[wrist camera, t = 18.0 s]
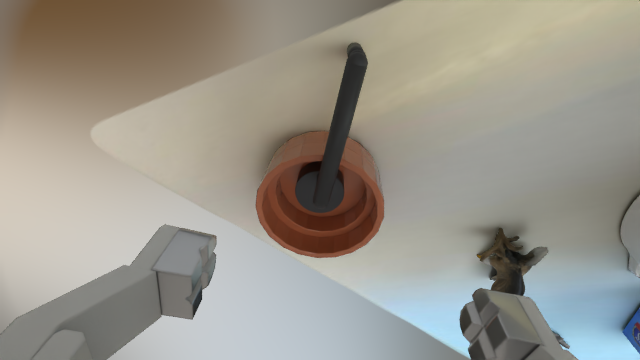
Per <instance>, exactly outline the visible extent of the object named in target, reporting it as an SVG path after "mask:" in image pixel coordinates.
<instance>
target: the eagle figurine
mask: <svg viewBox="0 0 640 360" xmlns="http://www.w3.org/2000/svg"><path fill="white" fill-rule="evenodd" d="M519 238H520V237H519V236H515V237H513V238H507V237H506V236H505V235H504V232H503V229H502V228H499V232H498V234H497V235H496V238H495V240H496V241H495V243H494V246H492V248H490V249H489V250H487V251H486V252H484V253H483V254H482V255H478V254H477V257H478V258H480V261H481V262H483V263H486V264H488V265H491V266H493V267H494V268H495V269H496V270H497V275H495V276H494V277H491V278H490V280H494V281H495V280H496V281H495V282H494V284H493V285H492V287H491V290H494V291H499V292H504V293H509V294H514V295H520V296H523V294H524V292H525V285H524V282H523V275H524V274H526V273H527V272H528V271H529V270H530V268H531V267H532V266H533V265H536V264H537V263H538V262H539V261H540V260H542V258H543V257H544V256H545V255H546V254H547V253H548V252H549V251H548V249H547V247H536V248H534V249H533V250H532V251H530V252H529V253H528V254H526V255H521V254H519V253H518V252H519V251H520V250H522V249H523V246H521V247H515V246H513V245H512V244H511V243H510V242H512V241H517V240H518V239H519ZM492 253H496V254H497V255H492V256H490V255H491V254H492Z"/></svg>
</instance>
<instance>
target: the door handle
mask: <svg viewBox="0 0 640 360" xmlns="http://www.w3.org/2000/svg"><path fill="white" fill-rule="evenodd" d="M347 54H348V59H347V61H346V66H345V70H344V74H343V78H342V82H341V86H340V90H339V94H338V98H337V102H336V106H335V110H334V114H333V119H332V123H331V127H330V131H329V135H328V139H327V143H326V147H325V151H324V155H323V159H322V161H316V162H312V163H310V164H308V165H306V166H305V167H304V168H303V169H302V170H301V171H300V173H299V176H298V179H297V183H296V187H295V195H296V198H297V200H298V202H299V203H300V204H301V206H303V207H304V208H305V209H307V210H309V211H311V212H315V213H326V212H330V211H332V210H334V209H335V208H337V207H338V206H339V205H340V204H341V202H342V200H343V198H344V178H343V175H342V173H341V171H340V170H339V166H340V162H341V159H342V155H343V151H344V148H345V144H346V141H347V137H348V134H349V130H350V126H351V123H352V119H353V116H354V112H355V108H356V105H357V101H358V98H359V94H360V91H361V87H362V83H363V80H364V76H365V73H366V69H367V65H368V61H367V58H366V55H365V53H364V51H363V49H362V47H361V45H360V44H358V43H356V42H354V43H351V44H350V45H349V46H348V48H347Z"/></svg>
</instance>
